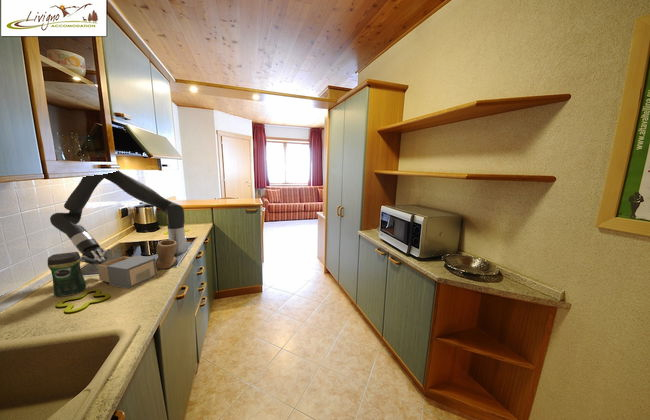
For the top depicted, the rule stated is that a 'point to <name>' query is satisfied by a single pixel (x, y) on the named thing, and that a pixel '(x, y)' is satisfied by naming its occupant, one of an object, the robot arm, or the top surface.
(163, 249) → the stone cup
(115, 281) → the sleeve
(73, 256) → the coffee jar
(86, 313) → the top surface
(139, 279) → the tray
